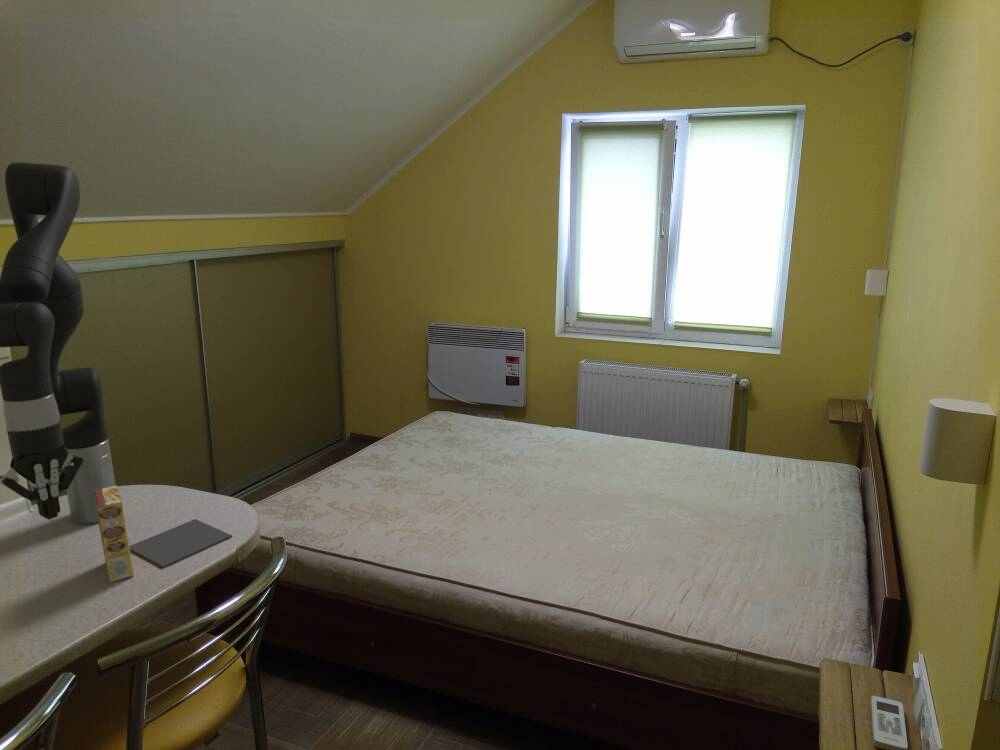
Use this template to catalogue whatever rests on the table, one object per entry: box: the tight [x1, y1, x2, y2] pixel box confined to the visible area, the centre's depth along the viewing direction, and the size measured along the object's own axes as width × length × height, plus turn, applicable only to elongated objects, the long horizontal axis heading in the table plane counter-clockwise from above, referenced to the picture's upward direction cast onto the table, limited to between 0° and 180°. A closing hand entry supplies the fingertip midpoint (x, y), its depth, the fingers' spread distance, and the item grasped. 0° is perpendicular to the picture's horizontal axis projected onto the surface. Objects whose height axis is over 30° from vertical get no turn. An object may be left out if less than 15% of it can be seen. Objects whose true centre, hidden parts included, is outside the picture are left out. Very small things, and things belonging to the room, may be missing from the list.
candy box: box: [94, 485, 135, 583], centre depth 131 cm, size 9×4×15 cm, turn 34°
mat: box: [129, 518, 233, 569], centre depth 143 cm, size 13×15×1 cm
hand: (50, 517), depth 121 cm, fingers closed
